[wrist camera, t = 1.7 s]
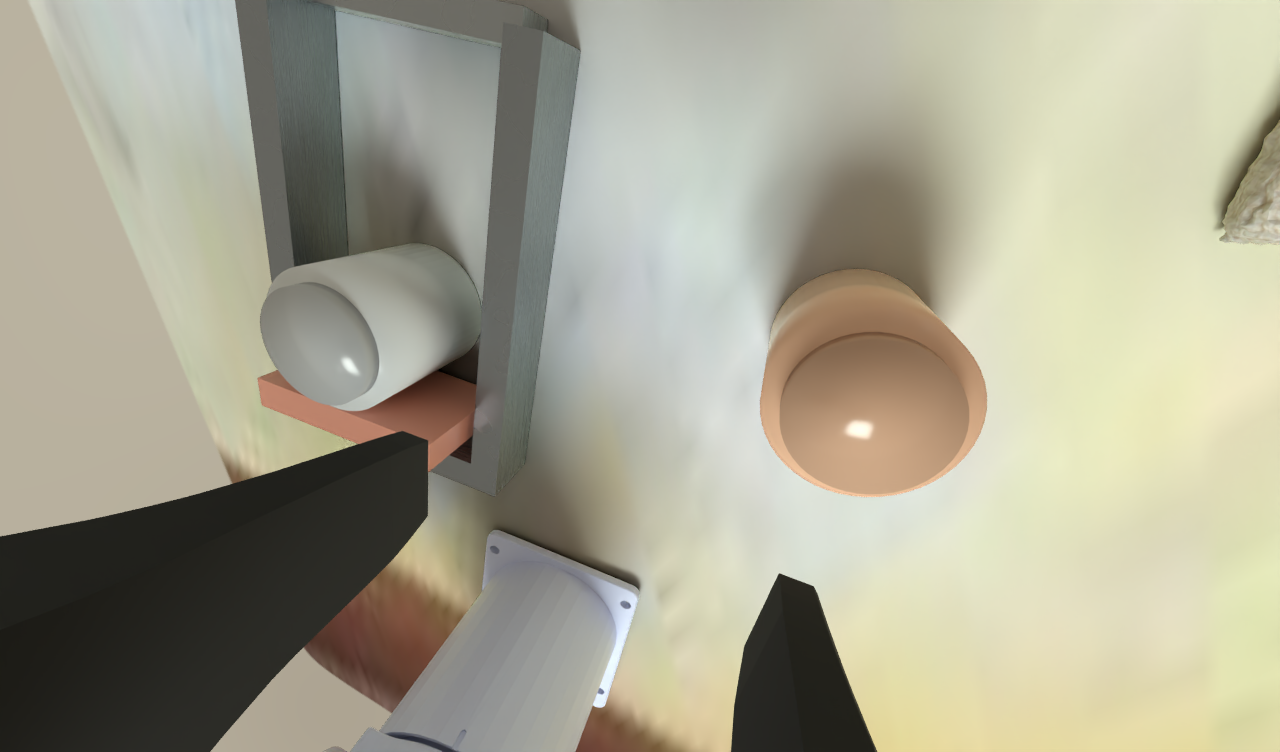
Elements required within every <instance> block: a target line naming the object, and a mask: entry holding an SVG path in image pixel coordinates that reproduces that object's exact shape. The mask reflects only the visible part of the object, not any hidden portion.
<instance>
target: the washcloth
mask: <svg viewBox="0 0 1280 752" xmlns="http://www.w3.org/2000/svg"><path fill="white" fill-rule="evenodd" d="M1222 222H1223V224H1224V225H1225V227H1224V229H1225V231H1226V233H1225V235H1224V236H1222V237H1221V238H1220V239H1219V241H1223V242H1234V243H1240V244H1247V243H1253V244H1257V245H1265V244H1269V243H1270V244H1274V245H1277V244H1280V120H1279V122H1278V123H1277V125H1276V126H1275V127H1274V129H1273V130H1272V131H1271V132H1270V133H1269V134H1268V135H1267V136H1266V137H1265V138H1264V144H1263V145H1262V150H1261V152H1260V153H1259V155H1258V157H1257V158H1256V159H1255V161H1254V162H1253V163H1252V164H1251V165H1250V167H1248V172H1247V174H1246V175H1245V177H1244V178H1243V180H1242V181H1241V183H1240V187H1239V189H1238V190H1237V192H1236V195H1235V197H1234V199H1233V200H1232V201H1231V202H1230V204H1229V206H1228V210H1227V212H1226V214H1225V218H1224V219H1223V221H1222Z"/></svg>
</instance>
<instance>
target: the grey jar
mask: <svg viewBox="0 0 1280 752" xmlns="http://www.w3.org/2000/svg"><path fill="white" fill-rule="evenodd" d="M481 318H482V312H481V305H480V300H479V297H478V294H477V291H476V289H475V287H474V284H473V282H472V281H471V279H470V277H469V276H468V274H467V273H466V272H465V270H464V269H463V268H462V267H461V265H460V264H459V263H458V262H457V261H456V260H454V259H453V258H452V257H451V256H450V255H448V254H447V253H445V252H444V251H442V250H440V249H438V248H436V247H433V246H431V245H427V244H421V243H411V244H405V245H400V246H395V247H390V248H385V249H380V250H375V251H370V252H365V253H361V254H356V255H351V256H346V257H341V258H336V259H331V260H326V261H321V262H316V263H311V264H306V265H301V266H296V267H292V268H289V269H287V270H285V271H283V272H282V273H281V274H279V275H278V276H277V277H276V278H275V280H274V281H273V282H272V284H271V286H270V288H269V291H268V294H267V298H266V300H265V302H264V304H263V306H262V310H261V316H260V326H261V333H262V338H263V341H264V344H265V347H266V349H267V352H268V354H269V356H270V358H271V360H272V362H273V363H274V365H275V367H276V368H277V369H278V371H279V372H280V373H281V375H282V376H283V377H284V378H285V379H286V381H287V382H288V383H289V384H290V385H291V386H293V387H294V388H295V389H296V390H297V391H299V392H300V393H301V394H303V395H304V396H306V397H308V398H309V399H311V400H313V401H316V402H318V403H321V404H325V405H330V406H332V407H335V408H338V409H341V410H347V411H362V410H366V409H369V408H371V407H373V406H375V405H377V404H378V403H380V402H382V401H384V400H385V399H387V398H389V397H391V396H392V395H394V394H396V393H398V392H400V391H401V390H403V389H405V388H407V387H408V386H410V385H412V384H414V383H415V382H417V381H419V380H421V379H422V378H424V377H426V376H428V375H429V374H431V373H433V372H435V371H436V370H438V369H440V368H442V367H444V366H445V365H447V364H449V363H451V362H452V361H454V360H456V359H458V358H459V357H461V356H463V355H464V354H466V353H467V352H468V351H469V350H470V349H471V348H472V347H473V346H474V344H475V343H476V341H477V339H478V337H479V334H480V330H481Z"/></svg>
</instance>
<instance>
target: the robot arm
mask: <svg viewBox="0 0 1280 752" xmlns="http://www.w3.org/2000/svg"><path fill="white" fill-rule="evenodd" d="M427 516H428V440H426V439H423V438H421V437H418V436H415V435H413V434H410V433H407V432H405V431H400V432H396V433H393V434H389V435H386V436H383V437H379V438H376V439H373V440H370V441H367V442H364V443H361V444H357V445H354V446H351V447H348V448H345V449H342V450H339V451H336V452H333V453H330V454H327V455H324V456H321V457H318V458H315V459H312V460H309V461H306V462H302V463H299V464H296V465H293V466H290V467H287V468H284V469H281V470H278V471H275V472H271V473H268V474H265V475H261V476H258V477H254V478H251V479H247V480H244V481H241V482H237V483H234V484H230V485H227V486H224V487H220V488H217V489H213V490H210V491H206V492H203V493H200V494H196V495H192V496H189V497H185V498H181V499H177V500H173V501H169V502H165V503H161V504H158V505H153V506H149V507H144V508H140V509H135V510H131V511H127V512H123V513H118V514H114V515H109V516H105V517H100V518H95V519H91V520H86V521H80V522H76V523H70V524H64V525H59V526H54V527H49V528H44V529H38V530H33V531H28V532H22V533H17V534H11V535H6V536H1V537H0V752H210V751H211V750H212V749H213V747H214V746H215V745H216V744H217V743H218V742H219V740H220V739H221V738H222V737H223V736H224V734H225V733H226V732H227V731H228V730H229V729H230V727H231V726H232V725H233V724H234V723H235V722H236V720H237V719H238V718H239V717H240V716H241V715H242V714H243V712H244V711H245V710H246V709H247V708H248V707H249V705H250V704H251V703H252V702H253V701H254V700H255V699H256V697H257V696H258V695H259V694H260V693H261V692H262V690H263V689H264V688H265V687H266V686H267V685H268V684H269V682H270V681H271V680H272V679H273V678H274V677H275V676H276V675H277V674H278V673H279V672H280V671H281V670H282V669H283V668H284V667H285V665H286V664H287V663H288V662H289V661H290V660H291V659H292V658H293V657H294V656H295V655H296V654H297V653H298V652H299V651H300V650H301V649H302V648H303V647H304V646H305V645H306V644H307V643H308V642H309V641H310V640H311V639H312V638H313V637H314V636H315V635H317V634H318V633H319V632H320V631H321V630H322V629H323V628H324V627H325V626H326V625H327V624H328V623H329V622H330V621H331V620H332V619H333V618H334V617H335V616H336V615H337V614H338V613H339V612H340V611H341V610H342V609H343V608H344V607H345V606H346V605H347V604H348V603H349V602H350V601H351V600H352V599H353V598H354V597H355V596H356V595H358V594H359V593H360V592H361V591H362V590H363V589H364V588H365V587H366V586H367V585H368V584H369V583H370V582H371V581H372V580H373V579H374V578H375V577H376V576H377V575H378V574H379V573H380V572H381V571H382V570H383V569H384V568H385V567H386V566H387V565H388V564H389V563H390V562H391V561H392V560H393V559H394V557H395V556H396V555H397V554H398V553H399V551H400V550H401V549H402V548H403V547H404V545H405V544H406V543H407V542H408V541H409V539H410V538H411V537H412V536H413V534H414V533H415V532H416V530H417V529H418V528H419V527H420V525H421V524H422V523H423V521H424V520H425V519H426V517H427ZM639 597H640V592H639V590H638V589H637V588H636V587H635V586H633V585H631V584H629V583H626V582H624V581H622V580H619V579H617V578H614V577H612V576H609V575H607V574H605V573H602V572H600V571H597V570H595V569H592V568H590V567H588V566H585V565H583V564H580V563H578V562H575V561H573V560H571V559H568V558H566V557H563V556H561V555H558V554H556V553H554V552H551V551H549V550H546V549H544V548H541V547H539V546H537V545H534V544H532V543H529V542H527V541H524V540H522V539H520V538H517V537H515V536H512V535H510V534H507V533H505V532H503V531H500V530H493V531H492V532H491V533H490V534H489V535H488V537H487V544H486V554H485V564H484V573H483V583H482V592H481V594H480V595H479V596H478V598H477V599H476V600H475V602H474V603H473V604H472V606H471V607H470V609H469V610H468V611H467V613H466V614H465V615H464V617H463V618H462V619H461V621H460V622H459V623H458V625H457V626H456V627H455V629H454V630H453V632H452V633H451V634H450V636H449V637H448V638H447V640H446V641H445V642H444V644H443V645H442V646H441V648H440V649H439V650H438V652H437V653H436V655H435V656H434V657H433V659H432V660H431V661H430V663H429V664H428V665H427V667H426V668H425V669H424V671H423V672H422V673H421V675H420V676H419V678H418V679H417V680H416V682H415V683H414V684H413V686H412V687H411V688H410V690H409V691H408V692H407V694H406V695H405V696H404V698H403V699H402V701H401V702H400V703H399V705H398V706H397V707H396V709H395V710H394V711H393V713H392V714H391V716H390V717H389V718H388V719H387V721H386V722H385V724H384V725H383V726H382V728H381V729H380V730H379V731H377V730H376V729H374V728H372V727H369V728H368V729H367V730H366V731H365V732H364V734H363V735H362V736H361V738H360V739H359V740H358V742H357V743H356V744H355V746H354V747H353V748H352V750H351V751H350V752H575V751H576V748H577V746H578V743H579V740H580V738H581V735H582V732H583V730H584V727H585V724H586V722H587V719H588V716H589V714H590V711H591V708H592V706H595V707H604V706H605V704H606V701H607V698H608V695H609V692H610V688H611V685H612V682H613V679H614V676H615V673H616V670H617V666H618V663H619V660H620V657H621V654H622V651H623V647H624V644H625V641H626V638H627V635H628V632H629V629H630V625H631V622H632V619H633V616H634V613H635V610H636V606H637V603H638V600H639ZM626 601H627V602H626ZM323 752H347V751H345V750H343V749H342V748H340V747H331V748H329V749H327V750H325V751H323ZM731 752H877V750H876V748H875V745H874V743H873V741H872V738H871V736H870V734H869V731H868V729H867V726H866V724H865V721H864V719H863V716H862V714H861V711H860V709H859V707H858V704H857V702H856V699H855V697H854V694H853V692H852V689H851V687H850V684H849V682H848V679H847V676H846V674H845V671H844V668H843V666H842V663H841V660H840V658H839V655H838V652H837V649H836V647H835V644H834V641H833V638H832V635H831V633H830V630H829V627H828V624H827V621H826V618H825V615H824V612H823V609H822V606H821V603H820V600H819V597H818V594H817V592H816V590H815V588H814V586H811V585H809V584H806V583H803V582H801V581H798V580H795V579H793V578H790V577H787V576H785V575H782V574H780V573H779V574H778V577H777V579H776V581H775V583H774V585H773V587H772V589H771V591H770V593H769V595H768V598H767V600H766V602H765V604H764V606H763V608H762V610H761V612H760V614H759V616H758V619H757V621H756V623H755V625H754V627H753V629H752V631H751V633H750V635H749V637H748V640H747V642H746V644H745V646H744V652H743V657H742V663H741V669H740V674H739V680H738V686H737V692H736V699H735V705H734V717H733V732H732V746H731Z"/></svg>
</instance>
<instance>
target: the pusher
mask: <svg viewBox="0 0 1280 752" xmlns="http://www.w3.org/2000/svg"><path fill="white" fill-rule="evenodd" d="M258 384H259V390H260V396H261V403H262V405H263V406H265V407H268V408H270V409H273V410H275V411H278V412H280V413H283V414H285V415H288V416H290V417H293V418H295V419H298V420H300V421H303V422H305V423H308V424H310V425H313V426H315V427H318V428H320V429H323V430H325V431H328V432H330V433H333V434H335V435H338V436H340V437H343V438H345V439H348V440H350V441H353V442H355V443H358V444H361V443H364V442H367V441H370V440H373V439H376V438H379V437H383V436H386V435H389V434H393V433H396V432H400V431H405V432H407V433H410V434H413V435H415V436H418V437H421V438H423V439H426V440H428V472H429V471H431V470H432V469H433V468H434V467H435V466H437V465H438V464H439V463H440V462H441V461H443V460H444V459H445V458H446V457H447V456H449V455H450V454H451V453H452V452H453V451H455V450H456V449H457V448H458V447H459V446H461V445H462V444H463V443H464V442H465V441H467V440H468V439H469V438H470V437H471V436H473V428H474V414H475V400H476V387H477V385H475V384H472V383H470V382H467V381H464V380H461V379H458V378H456V377H453V376H450V375H447V374H445V373H442V372H439V371H435V372H433V373H431V374H429V375H428V376H426V377H424V378H422V379H421V380H419V381H417V382H415V383H414V384H412V385H410V386H408V387H407V388H405V389H403V390H401V391H400V392H398V393H396V394H394V395H392V396H391V397H389V398H387V399H385V400H384V401H382V402H380V403H378V404H377V405H375V406H373V407H371V408H369V409H366V410H362V411H347V410H341V409H338V408H335V407H332V406H330V405H325V404H321V403H318V402H316V401H313V400H311V399H309V398H308V397H306V396H304V395H303V394H301V393H300V392H299V391H297V390H296V389H295V388H294V387H293V386H291V385H290V384H289V383H288V382H287V381H286V379H285V378H284V377H283V376H282V375H281V373H280V372H279V371H278V370H276V371H274V372H271V373H269V374H266V375H264V376H261V377H259V378H258Z"/></svg>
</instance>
